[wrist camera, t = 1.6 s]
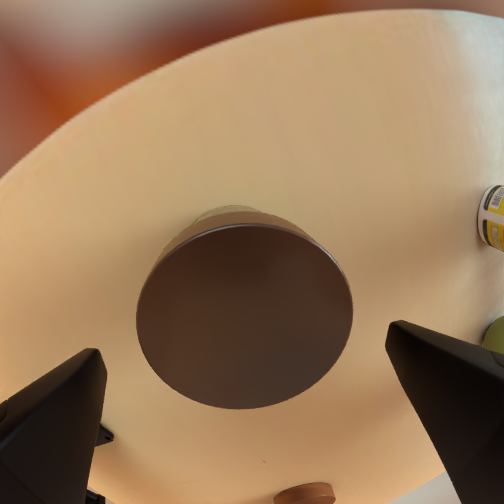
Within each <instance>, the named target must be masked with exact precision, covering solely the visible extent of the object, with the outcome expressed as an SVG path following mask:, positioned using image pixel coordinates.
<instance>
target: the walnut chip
mask: <svg viewBox="0 0 504 504" xmlns="http://www.w3.org/2000/svg"><path fill="white" fill-rule="evenodd" d="M352 320H353V302H352V295H351V291H350V287H349V284H348V281H347V279H346V277H345V274H344V273H343V271H342V269H341V268H340V266H339V264H338V263H337V262H336V261H335V259H334V258H333V257H332V256H331V255H330V254H329V253H328V252H327V251H326V250H325V249H324V248H323V247H322V246H321V245H319V244H318V243H317V242H316V241H315V240H314V239H313V238H311V237H310V236H309V235H308V234H307V233H306V232H304V231H303V230H302V229H301V228H299V227H297V226H296V225H294V224H293V223H291V222H289V221H287V220H284V219H282V218H280V217H277V216H274V215H270V214H266V213H260V212H253V211H235V212H228V213H222V214H218V215H214V216H211V217H208V218H206V219H203V220H201V221H198V222H196V223H195V224H193V225H191V226H190V227H188V228H186V229H185V230H183V231H182V232H181V233H180V234H178V235H177V236H176V237H175V238H174V239H173V240H172V241H171V242H170V243H169V244H168V245H167V246H166V247H165V249H164V250H163V252H162V253H161V254H160V256H159V257H158V259H157V261H156V263H155V265H154V266H153V268H152V270H151V272H150V274H149V276H148V277H147V280H146V282H145V284H144V286H143V288H142V290H141V293H140V297H139V300H138V304H137V311H136V329H137V334H138V340H139V343H140V346H141V348H142V351H143V354H144V355H145V357H146V359H147V361H148V363H149V364H150V366H151V367H152V369H153V370H154V371H155V373H156V374H157V375H158V376H159V377H160V378H161V379H162V380H163V381H164V382H165V383H166V384H168V385H169V386H170V387H171V388H172V389H174V390H175V391H177V392H179V393H180V394H182V395H184V396H186V397H188V398H190V399H192V400H194V401H197V402H199V403H202V404H205V405H209V406H213V407H218V408H225V409H254V408H261V407H266V406H270V405H274V404H277V403H280V402H283V401H286V400H288V399H290V398H292V397H295V396H297V395H299V394H300V393H302V392H304V391H305V390H307V389H309V388H310V387H311V386H313V385H314V384H315V383H317V382H318V381H319V380H320V379H321V378H322V377H323V376H324V375H325V374H327V372H328V371H329V370H330V369H331V368H332V367H333V365H334V364H335V363H336V361H337V360H338V358H339V357H340V355H341V353H342V351H343V350H344V348H345V346H346V343H347V341H348V338H349V335H350V331H351V326H352Z"/></svg>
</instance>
